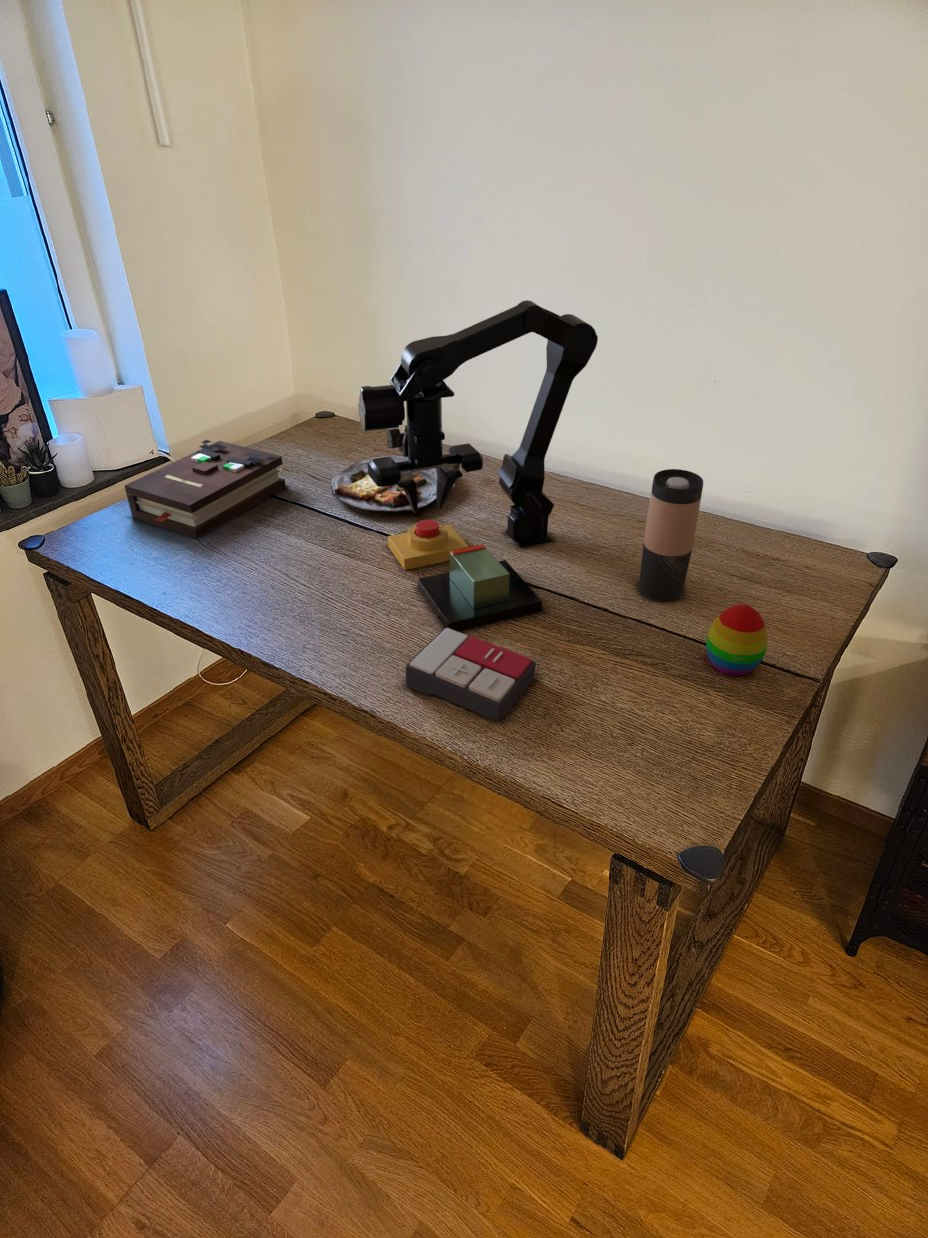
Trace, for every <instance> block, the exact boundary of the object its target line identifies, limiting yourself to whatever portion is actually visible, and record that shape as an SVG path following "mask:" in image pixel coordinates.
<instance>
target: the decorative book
mask: <svg viewBox="0 0 928 1238" xmlns="http://www.w3.org/2000/svg"><path fill="white" fill-rule="evenodd" d="M210 443H211V444H210ZM200 444H202V445H199V446H198V447H199V448H201V449H198V450H196V451H194V452H192V453H190V454H188V455H186V456H184V457H182V458H180V459H177V460H175V461H172V462H171V463H169V464H166V465H164V466H162V467H160V468H158V469H156V470H153V471H152V472H150V473H147V474H145V475H143V476H141V477H139V478H137V479H135V480H133V481H130V482H129V483H126V484H124V486H123V487H124V491H125V494H126V498H127V502H128V506H129V509H130V514H131V517H132V518H133V519H136V520H139V521H142V522H145V523H148V524H151V525H155V526H158V527H161V528H164V529H167V530H170V531H174V532H176V533H180V534H183V535H186V536H189V537H192V538H195V539H199V538H200V537H202V536H203V535H205V534H206V533H209V532H210V531H212V530H214V529H215V528H217V527H219V526H221V525H222V524H224V523H226V522H227V521H229V520H231V519H233V518H234V517H236V516H238V515H240V514H241V513H243V512H245V511H246V510H248V509H250V508H252V507H254V506H255V505H257V504H258V503H261V502H262V501H264V500H265V499H267V498H269V497H271V496H273V495H274V494H276V493H278V492H279V491H281V490H283V489H284V488H286V486H287V485H286V479H285V478H281V477H279V472H281V471H283V468H280V466H282V465H283V464H284V463H283V456H281V455H278V454H274V453H270V452H267V451H262V450H259V449H255V448H251V447H247V446H243V445H238V444H234V443H230V442H226V441H222V440H217V441H215V442H213V443H212V440H208V439H205V440H202V441H200ZM208 444H209V445H208Z"/></svg>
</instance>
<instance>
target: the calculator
mask: <svg viewBox="0 0 928 1238" xmlns="http://www.w3.org/2000/svg"><path fill="white" fill-rule="evenodd" d="M536 666H537V662H536V661H535V660H533V659H532V658H531V657H527V656H525V655H522V654H520V653H517V652H514V651H513V650H512V651H511V650H510V649H507V648H505V647H503V646H499V645H497V644H493V643H491V642H488V641H485V640H484V639H480V638H478V637H476V636H470V635H467V634H465V633H462V632H461V631H458V632H457V631H455V630H452V629H449V628H445V627H444V628H442V629H441V631H440V632H439V633H437V634H436V636H434V637H433V638H432V639H431V640H430V641H429V643H427V644H426V645H425V646H424V647H423V648H422V649H421V650H420V651H419V652H418V653H417V654H416V655H415V656H414V657H413V658H412V659H411V660H410V661H408V663H407V664H405V686H406V687H407V688H410V689H412V690H415V691H416V692H420V693H421V694H423V695H427V696H428V695H429V696H430V695H434V696H436V697H439V698H441V699H443V700H446V701H448V702H451V703H453V704H456V705H458V706H460V707H462V708H465V709H467V710H470V711H472V712H474V713H476V714H478V715H479V714H480V715H481V716H484V717H486V718H489V719H491V720H493V721H496V722H501V720H502V719H503V718H504V717H505V716H506V714H507V713H508V712H509V711H510V709H511V708H512V707H513V706H514V704H515V703H516V702H517V700H518V699H519V698H520V697H521V696H522V694H523V693H524V692H525V691H526V689H527V688H528V687H529V686H530V684H531V683H532V682H533V680H534V679H535V675H536Z"/></svg>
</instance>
